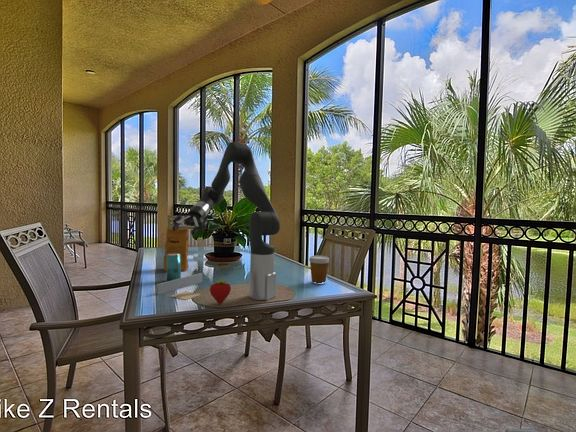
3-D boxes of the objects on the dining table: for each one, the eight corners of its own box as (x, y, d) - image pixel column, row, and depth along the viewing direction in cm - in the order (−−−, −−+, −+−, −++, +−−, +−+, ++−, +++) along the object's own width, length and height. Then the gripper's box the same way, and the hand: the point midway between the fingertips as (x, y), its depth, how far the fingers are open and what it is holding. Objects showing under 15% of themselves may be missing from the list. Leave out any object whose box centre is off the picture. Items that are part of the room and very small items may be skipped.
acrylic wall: (202, 282, 147) (202, 273, 147) (158, 294, 126) (158, 284, 126) (200, 281, 148) (200, 272, 147) (156, 294, 126) (156, 284, 126)
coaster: (200, 295, 127) (201, 294, 127) (185, 300, 120) (185, 299, 120) (186, 291, 131) (186, 291, 131) (170, 296, 124) (170, 295, 124)
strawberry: (208, 302, 119) (208, 275, 118) (228, 300, 122) (228, 273, 121) (211, 307, 114) (211, 278, 113) (232, 304, 117) (232, 277, 116)
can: (183, 280, 148) (183, 253, 148) (173, 283, 143) (173, 255, 143) (174, 278, 151) (174, 252, 151) (163, 281, 146) (163, 254, 145)
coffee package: (166, 267, 175) (166, 226, 174) (190, 267, 176) (190, 227, 175) (161, 271, 165) (161, 228, 164) (186, 272, 166) (186, 229, 165)
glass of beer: (318, 286, 145) (319, 259, 144) (304, 282, 152) (304, 256, 151) (333, 283, 151) (334, 257, 150) (318, 279, 158) (319, 254, 157)
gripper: (184, 202, 155) (166, 221, 142) (212, 208, 153) (197, 227, 140) (185, 215, 159) (168, 235, 146) (213, 221, 157) (198, 241, 144)
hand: (182, 231), depth 143 cm, fingers open, 8 cm apart
